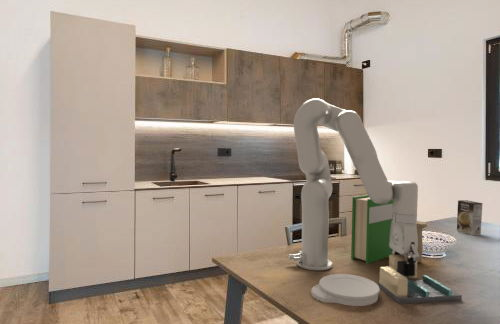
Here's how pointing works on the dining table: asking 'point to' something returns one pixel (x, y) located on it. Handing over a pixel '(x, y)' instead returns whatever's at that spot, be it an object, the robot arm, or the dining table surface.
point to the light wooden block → (400, 264)
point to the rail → (414, 288)
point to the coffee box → (469, 217)
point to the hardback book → (370, 229)
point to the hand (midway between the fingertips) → (402, 271)
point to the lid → (346, 290)
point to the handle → (420, 238)
